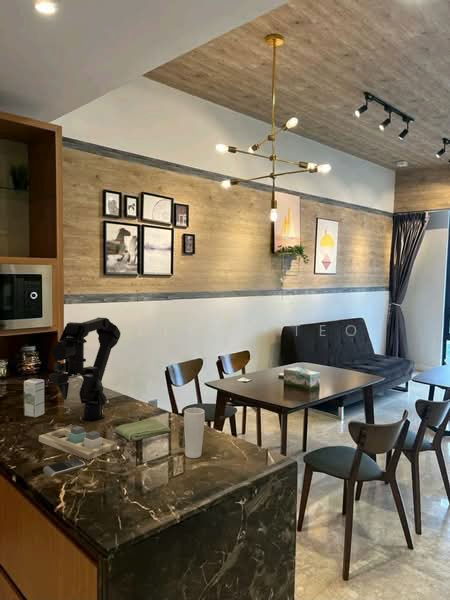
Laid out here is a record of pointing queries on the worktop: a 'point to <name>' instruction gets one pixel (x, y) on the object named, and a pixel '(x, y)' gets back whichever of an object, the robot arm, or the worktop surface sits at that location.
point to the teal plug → (77, 434)
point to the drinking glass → (193, 431)
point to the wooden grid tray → (73, 448)
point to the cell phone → (63, 467)
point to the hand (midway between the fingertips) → (75, 397)
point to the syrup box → (33, 397)
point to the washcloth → (141, 429)
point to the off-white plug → (92, 440)
